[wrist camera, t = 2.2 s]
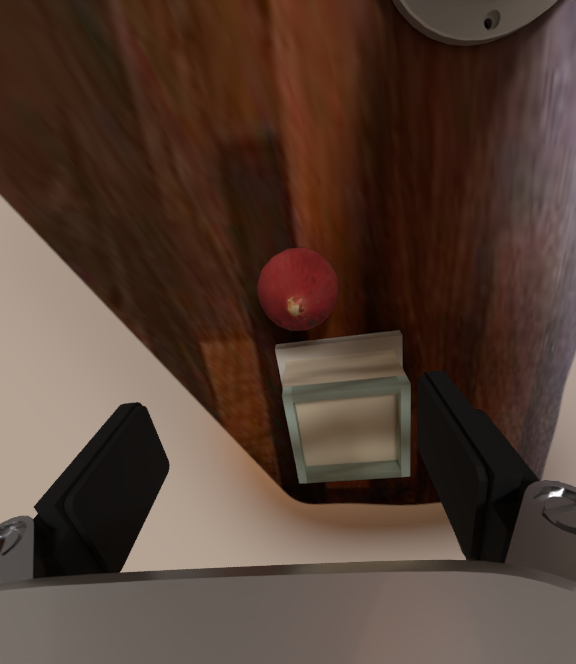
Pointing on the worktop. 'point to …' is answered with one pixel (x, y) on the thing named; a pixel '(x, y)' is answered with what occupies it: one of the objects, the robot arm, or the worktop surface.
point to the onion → (298, 289)
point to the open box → (347, 407)
